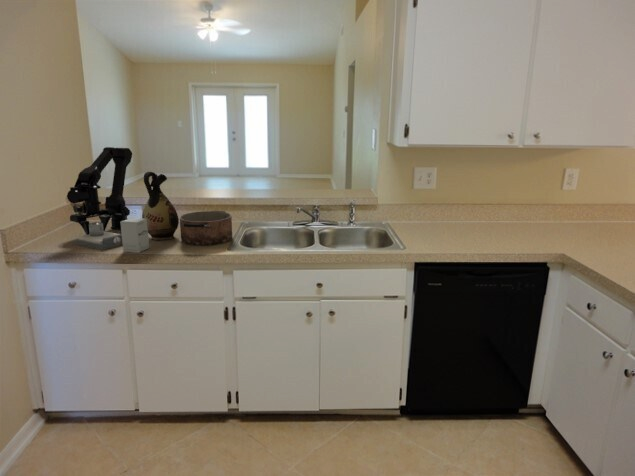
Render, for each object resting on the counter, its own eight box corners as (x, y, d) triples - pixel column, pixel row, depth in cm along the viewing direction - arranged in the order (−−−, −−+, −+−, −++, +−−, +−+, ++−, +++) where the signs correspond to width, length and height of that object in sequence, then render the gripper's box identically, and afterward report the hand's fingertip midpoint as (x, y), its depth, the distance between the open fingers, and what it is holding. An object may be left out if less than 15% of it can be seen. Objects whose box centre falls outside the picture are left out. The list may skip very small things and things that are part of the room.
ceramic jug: (159, 232, 199) (153, 168, 192) (186, 235, 194) (182, 170, 187) (133, 241, 184) (126, 172, 176) (162, 244, 179) (156, 174, 171)
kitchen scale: (105, 236, 190) (104, 228, 189) (131, 242, 182) (131, 233, 181) (76, 244, 178) (75, 235, 177) (102, 250, 170) (101, 240, 169)
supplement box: (139, 253, 167) (136, 222, 164) (122, 251, 168) (119, 221, 165) (150, 248, 174) (147, 218, 171) (134, 246, 175) (131, 217, 172)
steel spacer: (98, 232, 185) (97, 221, 184) (106, 234, 182) (105, 223, 181) (86, 235, 180) (85, 224, 179) (95, 237, 178) (94, 225, 176)
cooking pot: (217, 250, 173) (215, 225, 170) (167, 247, 176) (165, 222, 174) (242, 232, 201) (241, 210, 198) (198, 230, 205) (197, 208, 202)
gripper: (98, 195, 199) (102, 227, 203) (59, 201, 183) (64, 235, 187) (114, 197, 194) (118, 230, 198) (75, 203, 178) (80, 239, 182)
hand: (95, 233), depth 191 cm, fingers open, 7 cm apart
